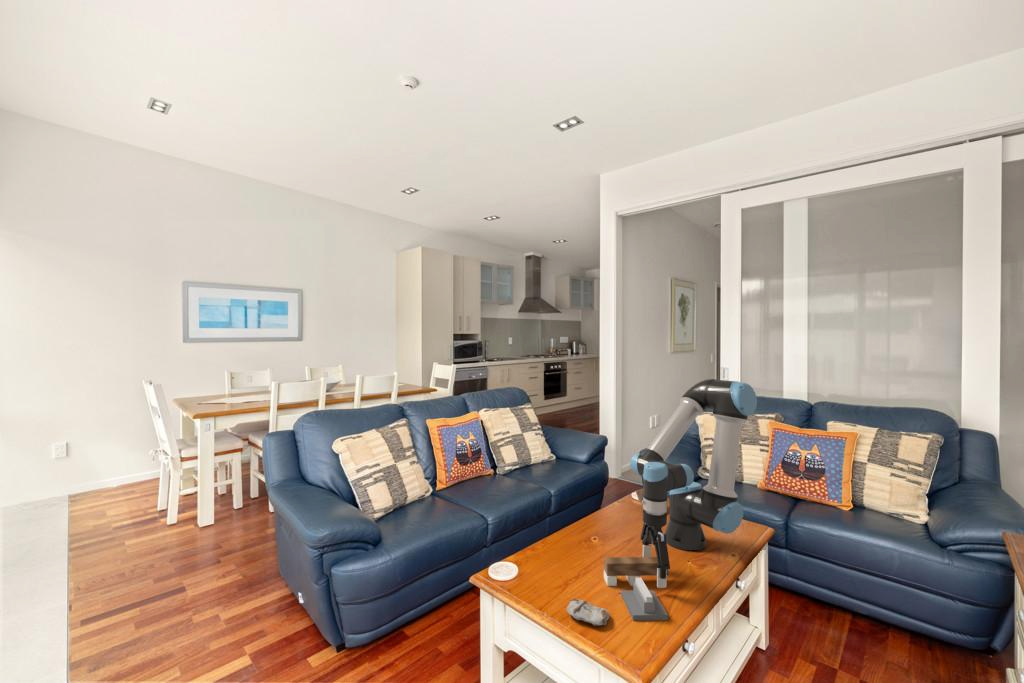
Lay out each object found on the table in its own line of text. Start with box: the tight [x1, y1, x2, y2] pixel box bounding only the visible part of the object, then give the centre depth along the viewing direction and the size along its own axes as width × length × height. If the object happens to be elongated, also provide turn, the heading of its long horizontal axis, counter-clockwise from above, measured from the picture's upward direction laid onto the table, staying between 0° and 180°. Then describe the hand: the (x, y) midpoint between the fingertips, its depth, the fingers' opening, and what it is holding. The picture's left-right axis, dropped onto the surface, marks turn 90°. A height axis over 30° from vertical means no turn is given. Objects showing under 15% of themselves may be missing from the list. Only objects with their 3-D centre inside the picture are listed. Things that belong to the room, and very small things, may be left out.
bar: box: [603, 556, 669, 577], centre depth 143 cm, size 20×4×4 cm, turn 92°
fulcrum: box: [620, 577, 669, 621], centre depth 130 cm, size 10×12×6 cm
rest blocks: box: [603, 569, 641, 587], centre depth 143 cm, size 10×5×3 cm, turn 92°
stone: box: [566, 598, 611, 627], centre depth 125 cm, size 12×9×3 cm
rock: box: [635, 488, 643, 506], centre depth 202 cm, size 12×12×10 cm
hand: (653, 575), depth 143 cm, fingers open, 13 cm apart
